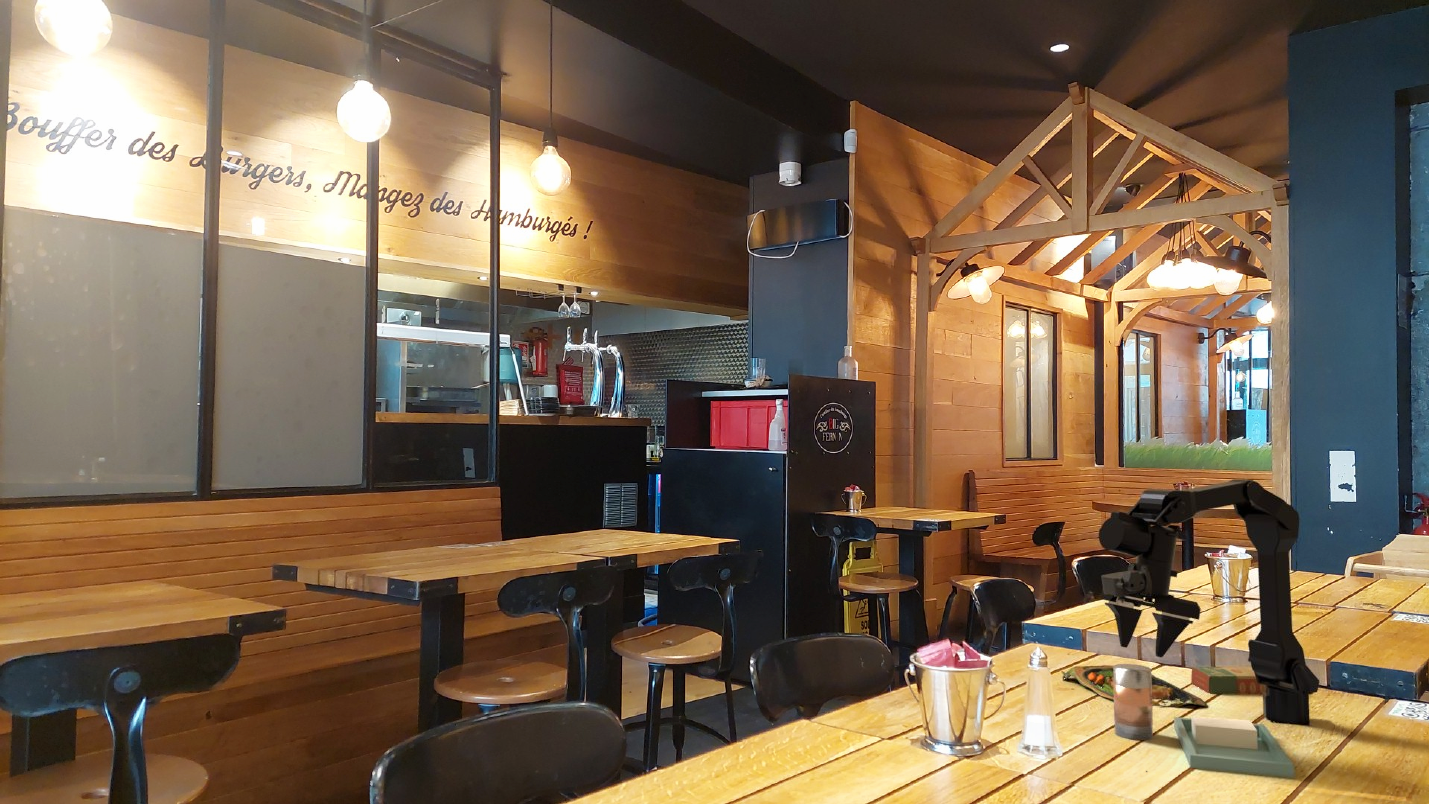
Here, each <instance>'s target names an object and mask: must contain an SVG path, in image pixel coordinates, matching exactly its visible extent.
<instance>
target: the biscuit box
mask: <svg viewBox="0 0 1429 804" xmlns="http://www.w3.org/2000/svg"><path fill="white" fill-rule="evenodd" d="M1190 718H1191V720H1192V735H1193V737H1194V739H1195V741H1196V743H1197V744H1206V745H1217V746H1228V747H1239V748H1250V749H1258V744H1257V730H1256V728H1255V727H1254V725H1253V724H1254V723H1252V720H1246V719H1235V718H1233V719H1232V718H1222V717H1209V716H1199V715H1191V717H1190Z"/></svg>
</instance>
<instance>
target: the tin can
mask: <svg viewBox="0 0 1429 804" xmlns="http://www.w3.org/2000/svg"><path fill="white" fill-rule="evenodd" d="M1112 666H1113V665H1112ZM1113 673H1114V682H1113V687H1114V701H1113V721H1114V734H1115V736H1117V737H1120V738H1122V739H1127V740H1133V741H1148V740H1152V739H1153V738H1154V732H1153V729H1154V727H1153V726H1154V720H1153V719H1154V718H1153V717H1154V715H1153V714H1154V713H1153V712H1154V711H1153V706H1152V700H1153V699H1152V682H1151V674H1152V668H1151V667H1148V666H1146V665H1141V664H1134V663H1132V664H1131V663H1119V664H1118V663H1117V664H1114V666H1113Z"/></svg>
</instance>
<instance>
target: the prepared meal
mask: <svg viewBox="0 0 1429 804" xmlns="http://www.w3.org/2000/svg"><path fill="white" fill-rule="evenodd" d="M1114 665H1115V664H1114ZM1114 665H1113V664H1112V665H1110V664H1109V665H1106V664H1104V665H1089V666H1088V665H1086V666H1085V665H1082V666H1081V665H1080V666H1077V665H1076V666H1073V667H1071V668H1069V669H1068V671H1066V672H1064V671H1063V670H1060V672H1061V673H1062V675H1063V676H1062V680H1063V681H1066V680H1068V679H1069V678H1071V677H1073V678H1074V679H1076V680H1077V681H1078V682H1079V684H1080V685H1082V686H1083V687H1087V688H1089V689H1090V690H1093V691H1092V692H1094V693H1096V694H1097V695H1099V696H1101V697H1104V698H1107V699H1110V700H1111V701H1112V702H1114V687H1113V682H1114V673H1113V666H1114ZM1064 678H1065V679H1066V680H1065V679H1064ZM1151 682H1152V707H1158V708H1159V709H1160V708H1161V709H1162V708H1173V709H1177V708H1180V707H1182V706H1183V705H1185V706H1187V705H1190V704H1193V705H1195V706H1203V707H1206V708H1209V705H1208V703H1207V702H1205V700H1203V699H1202V698H1200V697H1198V696H1196V695H1195V694H1193V693H1191V692H1189V691H1187V690H1185V689H1182V688H1180V687H1178V686H1176V685H1174V684H1172V683H1170V682H1168V681H1167V680H1165V679H1161V678H1159V677H1157V676H1155V675H1154V674H1152V673H1151ZM1101 687H1102V688H1101ZM1160 699H1161V700H1160ZM1162 699H1163V700H1162ZM1156 700H1160V701H1161V702H1158V701H1156ZM1168 701H1170V702H1171V703H1170V704H1169V705H1166V704H1167V703H1169V702H1168ZM1160 703H1161V704H1160ZM1162 704H1164V705H1162Z"/></svg>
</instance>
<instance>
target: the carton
mask: <svg viewBox="0 0 1429 804" xmlns="http://www.w3.org/2000/svg"><path fill="white" fill-rule="evenodd" d="M1190 676H1191V678H1190V680H1191V681H1190V682H1191V685H1192V684H1193V685H1192V686H1194V685H1195V686H1194V687H1196V688H1198V687H1199V688H1198V689H1200V690H1202V691H1203V690H1204V692H1205V693H1207V694H1209V693H1210V695H1263V693H1266V685H1264V684H1258V683H1257V679H1256V676H1255V673H1254V671H1253V670H1252V667H1251V666H1192V667H1191V675H1190Z"/></svg>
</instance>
